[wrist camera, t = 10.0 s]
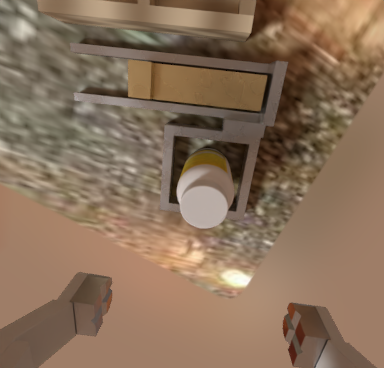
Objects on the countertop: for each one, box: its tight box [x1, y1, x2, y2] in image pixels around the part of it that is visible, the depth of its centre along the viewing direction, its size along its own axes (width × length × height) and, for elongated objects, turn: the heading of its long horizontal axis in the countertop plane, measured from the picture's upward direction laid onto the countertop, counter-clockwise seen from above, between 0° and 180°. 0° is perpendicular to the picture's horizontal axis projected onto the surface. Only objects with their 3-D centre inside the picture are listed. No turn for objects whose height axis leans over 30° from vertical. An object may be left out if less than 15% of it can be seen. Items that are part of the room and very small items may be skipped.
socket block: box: [70, 43, 288, 220], centre depth 26 cm, size 20×17×4 cm
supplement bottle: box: [177, 148, 234, 228], centre depth 24 cm, size 5×5×10 cm
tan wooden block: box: [128, 60, 267, 111], centre depth 23 cm, size 12×3×5 cm, turn 84°
